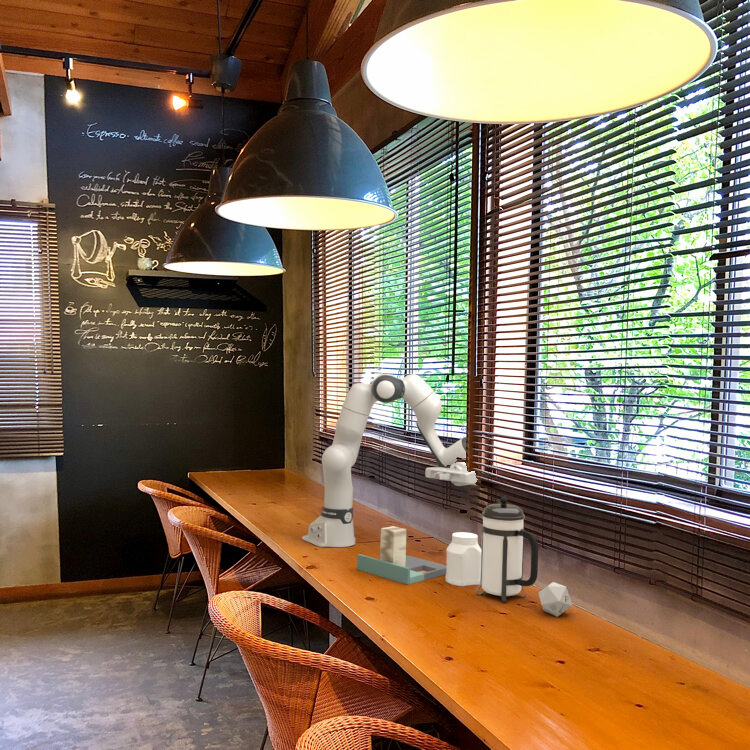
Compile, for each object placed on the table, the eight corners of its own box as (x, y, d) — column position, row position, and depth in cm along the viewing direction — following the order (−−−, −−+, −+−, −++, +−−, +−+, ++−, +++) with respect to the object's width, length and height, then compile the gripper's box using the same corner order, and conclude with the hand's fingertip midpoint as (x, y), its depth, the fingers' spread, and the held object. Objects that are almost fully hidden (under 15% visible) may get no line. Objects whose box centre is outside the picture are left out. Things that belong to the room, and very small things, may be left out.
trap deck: (356, 569, 236) (357, 554, 236) (400, 559, 252) (401, 545, 252) (407, 584, 220) (408, 568, 220) (451, 572, 236) (451, 557, 236)
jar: (454, 587, 219) (456, 539, 219) (440, 578, 228) (442, 532, 228) (486, 584, 224) (488, 537, 224) (471, 576, 233) (473, 530, 233)
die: (540, 619, 193) (562, 595, 190) (527, 595, 201) (548, 571, 198) (561, 627, 197) (584, 602, 194) (548, 602, 204) (569, 579, 201)
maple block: (379, 567, 232) (380, 528, 232) (392, 564, 236) (393, 526, 236) (392, 571, 228) (394, 531, 228) (405, 568, 232) (406, 529, 232)
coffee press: (476, 602, 204) (479, 499, 205) (475, 586, 220) (478, 491, 221) (536, 607, 202) (539, 503, 202) (532, 590, 218) (534, 494, 218)
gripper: (439, 462, 270) (415, 464, 260) (482, 468, 256) (459, 470, 246) (438, 478, 270) (415, 481, 260) (482, 485, 256) (458, 488, 246)
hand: (436, 476), depth 253 cm, fingers closed
